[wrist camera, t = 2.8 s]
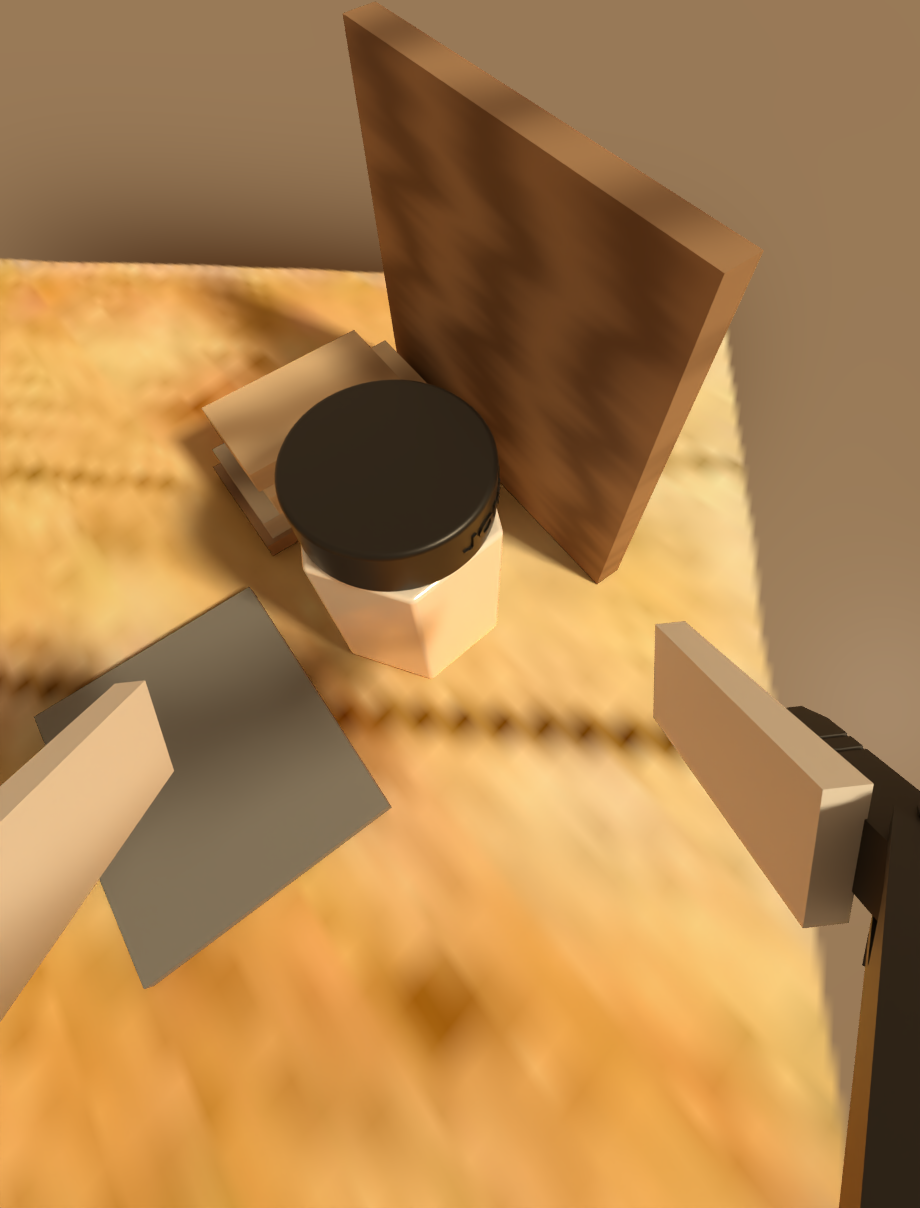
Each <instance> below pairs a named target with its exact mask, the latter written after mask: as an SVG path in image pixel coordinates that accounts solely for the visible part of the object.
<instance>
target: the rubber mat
mask: <svg viewBox="0 0 920 1208" xmlns="http://www.w3.org/2000/svg"><path fill="white" fill-rule="evenodd" d="M143 680H145V681H146V685H147V688H148V691H149V694H150V697H151V700H152V703H153V707H154V710H155V713H156V716H157V719H158V722H159V725H160V729H161V732H162V735H163V738H164V741H165V744H166V747H167V750H168V754H169V757H170V760H171V763H172V766H173V769H174V772H173V773H172V775H171V776H170V777H169V779H168V780H167V782H166V783H165V785H164V786H163V788H162V789H161V790H160V792H159V793H158V795H157V796H156V798H155V799H154V801H153V802H152V803H151V805H150V806H149V808H148V809H147V811H146V812H145V814H144V815H143V816H142V818H141V819H140V821H139V822H138V824H137V825H136V827H135V828H134V829H133V831H132V832H131V834H130V835H129V837H128V838H127V840H126V841H125V842H124V844H123V845H122V847H121V848H120V850H119V851H118V853H117V854H116V855H115V857H114V858H113V860H112V861H111V863H110V864H109V866H108V867H107V868H106V870H105V871H104V873H103V874H102V876H101V877H100V882H101V884H102V887H103V889H104V891H105V894H106V896H107V899H108V901H109V904H110V906H111V909H112V911H113V914H114V916H115V919H116V921H117V924H118V926H119V929H120V931H121V934H122V936H123V938H124V941H125V943H126V946H127V948H128V951H129V953H130V956H131V958H132V961H133V963H134V966H135V968H136V971H137V973H138V976H139V978H140V981H141V983H142V985H143V988H144V989H146V988H149V987H152V986H154V985H156V984H157V983H158V982H160V981H161V980H162V979H164V978H165V977H166V976H168V975H169V974H170V973H172V972H173V971H174V970H176V969H177V968H178V967H180V966H181V965H182V964H184V963H185V962H186V961H188V960H189V959H190V958H192V957H193V956H194V955H196V954H197V953H198V952H200V951H201V950H202V949H204V948H205V947H206V946H208V945H209V944H210V943H212V942H213V941H214V940H216V939H217V938H218V937H220V936H221V935H222V934H224V933H225V932H226V931H228V930H229V929H230V928H232V927H233V926H234V925H236V924H237V923H238V922H240V921H241V920H242V919H244V918H245V917H246V916H248V915H249V914H250V913H252V912H253V911H254V910H256V909H257V908H258V907H260V906H261V905H262V904H264V903H265V902H266V901H268V900H269V899H270V898H271V897H273V896H274V895H275V894H277V893H278V892H279V891H281V890H282V889H283V888H285V887H286V886H287V885H289V884H290V883H291V882H293V881H294V880H295V879H297V878H298V877H299V876H301V875H302V874H303V873H305V872H306V871H307V870H309V869H310V868H311V867H313V866H314V865H315V864H317V863H318V862H319V861H321V860H322V859H323V858H325V857H326V856H327V855H329V854H330V853H331V852H333V851H334V850H335V849H337V848H338V847H339V846H341V845H342V844H343V843H345V842H346V841H347V840H349V839H350V838H351V837H353V836H354V835H355V834H357V833H358V832H359V831H361V830H362V829H363V828H365V827H366V826H367V825H369V824H370V823H371V822H373V821H374V820H375V819H377V818H378V817H379V816H381V815H382V814H383V813H385V812H386V811H387V810H389V809H390V808H391V805H390V804H389V802H388V801H387V799H386V798H385V796H384V794H383V793H382V791H381V790H380V788H379V787H378V785H377V783H376V782H375V780H374V779H373V777H372V776H371V774H370V773H369V771H368V769H367V768H366V766H365V765H364V763H363V762H362V760H361V759H360V757H359V755H358V754H357V752H356V751H355V749H354V748H353V746H352V745H351V743H350V741H349V740H348V738H347V737H346V735H345V734H344V732H343V731H342V729H341V727H340V726H339V724H338V723H337V721H336V720H335V718H334V717H333V715H332V713H331V712H330V710H329V709H328V707H327V706H326V704H325V703H324V701H323V699H322V698H321V696H320V695H319V693H318V692H317V690H316V688H315V687H314V685H313V684H312V682H311V681H310V679H309V678H308V676H307V674H306V673H305V671H304V670H303V668H302V667H301V665H300V664H299V662H298V660H297V659H296V657H295V656H294V654H293V653H292V651H291V650H290V648H289V646H288V645H287V643H286V642H285V640H284V639H283V637H282V636H281V634H280V632H279V631H278V629H277V628H276V626H275V625H274V623H273V622H272V620H271V618H270V617H269V615H268V614H267V612H266V611H265V609H264V608H263V606H262V604H261V603H260V601H259V600H258V598H257V597H256V595H255V593H254V592H253V591H252V590H251V589H250V587H248V588H246V589H245V590H243V591H241V592H240V593H238V594H237V595H235V596H233V597H232V598H230V599H228V600H227V601H225V602H223V603H222V604H220V605H218V606H217V607H215V608H213V609H212V610H210V611H208V612H207V613H205V614H203V615H202V616H200V617H198V618H197V619H195V620H193V621H192V622H190V623H189V624H187V625H185V626H184V627H182V628H180V629H179V630H177V631H175V632H174V633H172V634H170V635H169V636H167V637H165V638H164V639H162V640H160V641H159V642H157V643H155V644H154V645H152V646H150V647H149V648H147V649H146V650H144V651H142V652H141V653H139V654H137V655H136V656H134V657H132V658H131V659H129V660H127V661H126V662H124V663H122V664H121V665H119V666H117V667H116V668H114V669H112V670H111V671H109V672H107V673H106V674H104V675H103V676H101V677H99V678H98V679H96V680H94V681H93V682H91V683H89V684H88V685H86V686H84V687H83V688H81V689H79V690H78V691H76V692H74V693H73V694H71V695H69V696H68V697H66V698H64V699H63V700H61V701H59V702H58V703H56V704H55V705H53V706H51V707H50V708H48V709H46V710H45V711H43V712H41V713H40V714H38V715H36V716H35V717H34V718H35V721H36V723H37V726H38V728H39V731H40V733H41V736H42V738H43V741H44V743H45V746H46V745H47V744H48V743H49V742H50V741H51V740H52V739H54V738H55V737H56V736H57V735H58V734H59V733H60V732H61V731H63V730H64V729H65V728H66V727H67V726H68V725H69V724H70V723H71V722H73V721H74V720H75V719H76V718H77V717H78V716H79V715H80V714H82V713H83V712H84V711H85V710H86V709H87V708H88V707H89V706H90V705H92V704H93V703H94V702H95V701H96V700H97V699H98V698H99V697H101V696H102V695H103V694H104V693H105V692H106V691H107V690H108V689H109V688H111V687H112V686H113V685H114V684H116V683H125V682H134V681H143Z"/></svg>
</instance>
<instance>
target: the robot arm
mask: <svg viewBox="0 0 920 1208" xmlns="http://www.w3.org/2000/svg"><path fill="white" fill-rule="evenodd" d="M653 717H654V719H655V720H656V722H657V723H658V725H659V726H660V727H661V729H662V730H663V732H664V733H665V734H666V736H667V737H668V739H669V740H670V741H671V743H672V744H673V746H674V747H675V749H676V750H677V751H678V753H679V754H680V756H681V757H682V758H683V760H684V761H685V763H686V764H687V765H688V767H689V768H690V770H691V771H692V773H693V774H694V775H695V777H696V778H697V780H698V781H699V782H700V784H701V785H702V787H703V788H704V789H705V791H706V792H707V794H708V795H709V796H710V798H711V799H712V801H713V802H714V804H715V805H716V806H717V808H718V809H719V811H720V812H721V813H722V815H723V816H724V818H725V819H726V820H727V822H728V823H729V825H730V826H731V828H732V829H733V830H734V832H735V833H736V835H737V836H738V837H739V839H740V840H741V842H742V843H743V844H744V846H745V847H746V849H747V850H748V851H749V853H750V854H751V856H752V857H753V859H754V860H755V861H756V863H757V864H758V866H759V867H760V868H761V870H762V871H763V873H764V874H765V875H766V877H767V878H768V880H769V881H770V883H771V884H772V885H773V887H774V888H775V890H776V891H777V892H778V894H779V895H780V897H781V898H782V899H783V901H784V902H785V904H786V905H787V906H788V908H789V909H790V911H791V912H792V914H793V915H794V916H795V918H796V919H797V921H798V922H799V923H800V925H801V926H802V928H809V927H817V926H825V925H834V924H843V923H849V918H850V913H851V907H852V902H853V896H854V894H855V896H856V897H857V898H858V899H859V900H860V901H861V902H862V904H863V905H864V906H865V907H866V908H867V909H868V911H869V912H870V913H871V914H872V918H871V923H870V929H869V934H868V939H867V944H866V949H865V954H864V959H863V964H862V965H863V966H865V973H864V982H863V991H862V1001H861V1010H860V1019H859V1028H858V1038H857V1047H856V1056H855V1065H854V1075H853V1083H852V1093H851V1102H850V1111H849V1120H848V1129H847V1139H846V1148H845V1157H844V1166H843V1175H842V1185H841V1194H840V1203H839V1208H920V791H919V790H918V789H916V788H915V787H914V786H913V785H911V784H910V783H909V782H908V781H906V780H905V779H904V778H903V777H901V776H900V775H899V774H898V773H896V772H895V771H894V770H893V769H891V768H890V767H889V766H888V765H886V764H885V763H884V762H883V761H881V760H880V759H879V758H877V757H876V756H875V755H874V754H872V753H871V752H870V751H869V750H867V749H863V746H862V745H861V744H860V743H859V742H857V741H856V740H855V739H854V738H852V737H851V736H847V733H846V732H845V731H843V730H842V729H841V728H840V727H838V726H837V725H836V724H835V723H833V722H832V721H831V720H830V719H828V718H827V717H824V716H822V715H820V714H818V713H816V712H813V711H811V710H809V709H807V708H805V707H802V706H798V707H789V708H785V707H784V706H783V705H781V704H780V703H779V702H778V701H777V700H776V699H775V698H773V697H772V696H771V695H770V694H769V693H768V692H766V691H765V690H764V689H763V688H762V687H761V686H759V685H758V684H757V683H756V682H755V681H754V680H752V679H751V678H750V677H749V676H748V675H747V674H746V673H744V672H743V671H742V670H741V669H740V668H739V667H737V666H736V665H735V664H734V663H733V662H732V661H730V660H729V659H728V658H727V657H726V656H725V655H723V654H722V653H721V652H720V651H719V650H718V649H716V648H715V647H714V646H713V645H712V644H711V643H709V642H708V641H707V640H706V639H705V638H704V637H703V636H701V635H700V634H699V633H698V632H697V631H696V630H694V629H693V628H692V627H691V626H690V625H689V624H687V623H686V622H685V621H682V622H672V623H663V624H655V663H654V710H653ZM173 772H174V769H173V766H172V763H171V760H170V757H169V754H168V750H167V747H166V744H165V741H164V738H163V735H162V732H161V729H160V725H159V722H158V719H157V716H156V713H155V710H154V707H153V703H152V700H151V697H150V694H149V691H148V688H147V685H146V681H145V680H143V681H134V682H125V683H116V684H114V685H113V686H112V687H111V688H109V689H108V690H107V691H106V692H105V693H104V694H103V695H102V696H101V697H99V698H98V699H97V700H96V701H95V702H94V703H93V704H92V705H90V706H89V707H88V708H87V709H86V710H85V711H84V712H83V713H82V714H80V715H79V716H78V717H77V718H76V719H75V720H74V721H73V722H71V723H70V724H69V725H68V726H67V727H66V728H65V729H64V730H63V731H61V732H60V733H59V734H58V735H57V736H56V737H55V738H54V739H52V740H51V741H50V742H49V743H48V744H47V745H46V746H45V747H44V748H42V749H41V750H40V751H39V752H38V753H37V754H36V755H35V756H33V757H32V758H31V759H30V760H29V761H28V762H27V763H26V764H25V765H23V766H22V767H21V768H20V769H19V770H18V771H17V772H16V773H14V774H13V775H12V776H11V777H10V778H9V779H8V780H7V781H6V782H4V783H3V784H2V785H1V786H0V1021H1V1020H2V1019H3V1017H4V1016H5V1014H6V1013H7V1011H8V1010H9V1008H10V1007H11V1006H12V1004H13V1003H14V1001H15V1000H16V998H17V997H18V995H19V994H20V993H21V991H22V990H23V988H24V987H25V985H26V984H27V982H28V981H29V980H30V978H31V977H32V975H33V974H34V972H35V971H36V969H37V968H38V967H39V965H40V964H41V962H42V961H43V959H44V958H45V957H46V955H47V954H48V952H49V951H50V949H51V948H52V946H53V945H54V944H55V942H56V941H57V939H58V938H59V936H60V935H61V933H62V932H63V931H64V929H65V928H66V926H67V925H68V923H69V922H70V920H71V919H72V918H73V916H74V915H75V913H76V912H77V910H78V909H79V907H80V906H81V905H82V903H83V902H84V900H85V899H86V897H87V896H88V894H89V893H90V892H91V890H92V889H93V887H94V886H95V884H96V883H97V881H98V880H99V879H100V877H101V876H102V874H103V873H104V871H105V870H106V868H107V867H108V866H109V864H110V863H111V861H112V860H113V858H114V857H115V855H116V854H117V853H118V851H119V850H120V848H121V847H122V845H123V844H124V842H125V841H126V840H127V838H128V837H129V835H130V834H131V832H132V831H133V829H134V828H135V827H136V825H137V824H138V822H139V821H140V819H141V818H142V816H143V815H144V814H145V812H146V811H147V809H148V808H149V806H150V805H151V803H152V802H153V801H154V799H155V798H156V796H157V795H158V793H159V792H160V790H161V789H162V788H163V786H164V785H165V783H166V782H167V780H168V779H169V777H170V776H171V775H172V773H173Z"/></svg>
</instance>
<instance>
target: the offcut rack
mask: <svg viewBox="0 0 920 1208" xmlns="http://www.w3.org/2000/svg"><path fill="white" fill-rule="evenodd" d="M343 19H344V24H345V31H346V38H347V44H348V50H349V56H350V63H351V69H352V75H353V81H354V87H355V94H356V100H357V106H358V112H359V118H360V125H361V131H362V138H363V144H364V150H365V156H366V162H367V169H368V175H369V181H370V188H371V194H372V200H373V206H374V213H375V219H376V225H377V231H378V238H379V244H380V250H381V256H382V263H383V269H384V275H385V281H386V288H387V294H388V300H389V306H390V313H391V319H392V325H393V331H394V338H395V344H396V350H397V352H396V351H395V350H394V349H393V348H392V347H391V346H390V345H389V344H388V343H387V342H386V341H383V342H381V343H379V344H377V345H376V346H374V347H372V348H371V347H370V346H369V345H368V344H367V343H366V342H365V341H364V340H363V339H362V338H361V337H360V336H359V335H358V334H357V333H356V332H355V330H353V331H351V332H349V333H347V334H345V335H343V336H341V337H339V338H337V339H335V340H333V341H331V342H329V343H328V344H326V345H324V346H322V347H320V348H318V349H316V350H314V351H312V352H310V353H308V354H306V355H304V356H302V357H300V358H298V359H296V360H294V361H292V362H291V363H289V364H287V365H285V366H283V367H281V368H279V369H277V370H275V371H273V372H271V373H269V374H267V375H265V376H263V377H261V378H259V379H257V380H255V381H254V382H252V383H250V384H248V385H246V386H244V387H242V388H240V389H238V390H236V391H234V392H232V393H230V394H228V395H226V396H224V397H222V398H220V399H218V400H217V401H215V402H213V403H211V404H209V405H207V406H205V407H203V408H202V409H203V411H204V413H205V414H206V416H207V418H208V419H209V421H210V423H211V424H212V426H213V428H214V429H215V430H216V432H217V433H218V435H219V436H220V437H221V439H222V440H223V442H224V443H223V444H222V445H220V446H218V447H216V448H214V449H212V450H213V452H214V453H215V455H216V456H217V458H218V460H219V461H220V464H218V465H216V466H214V467H213V468H214V469H215V471H216V472H217V474H218V475H219V477H220V478H221V480H222V481H223V483H224V484H225V486H226V487H227V489H228V490H229V491H230V493H231V494H232V496H233V497H234V499H235V500H236V502H237V503H238V505H239V506H240V508H241V509H242V511H243V512H244V514H245V515H246V516H247V518H248V519H249V521H250V522H251V524H252V525H253V527H254V528H255V530H256V531H257V533H258V534H259V536H260V537H261V538H262V540H263V541H264V543H265V544H266V546H267V547H268V549H269V550H270V552H271V553H272V555H273V556H274V555H275V554H277V553H279V552H281V551H282V550H284V549H286V548H287V547H289V546H291V545H292V544H294V543H296V542H297V541H298V539H297V537H296V535H295V533H294V532H293V530H292V528H291V526H290V524H289V523H288V521H287V519H286V517H285V515H284V513H283V512H282V510H281V507H280V505H279V502H278V499H277V495H276V490H275V482H274V473H275V464H276V460H277V456H278V453H279V450H280V448H281V445H282V443H283V441H284V439H285V437H286V436H287V434H288V433H289V431H290V430H291V428H292V427H293V426H294V424H295V423H296V422H297V421H298V420H299V419H300V418H301V416H302V415H304V414H305V413H306V412H307V411H308V410H309V409H310V408H312V407H313V406H314V405H316V404H317V403H318V402H320V401H322V400H323V399H325V398H326V397H328V396H330V395H332V394H334V393H336V392H338V391H340V390H343V389H345V388H348V387H351V386H354V385H358V384H361V383H366V382H371V381H378V380H390V379H401V380H413V381H419V382H424V383H428V384H431V385H434V386H437V387H440V388H443V389H445V390H447V391H449V392H451V393H453V394H455V395H457V396H458V397H460V398H461V399H463V400H464V401H466V402H467V403H468V404H469V405H471V406H472V407H473V408H474V409H475V410H476V411H477V412H478V413H479V414H480V415H481V417H482V418H483V419H484V420H485V422H486V424H487V425H488V427H489V429H490V431H491V433H492V435H493V437H494V440H495V443H496V447H497V451H498V459H499V467H500V476H499V477H500V483H501V484H502V485H503V486H504V487H505V488H506V489H507V490H508V491H509V492H510V493H511V494H512V495H513V496H514V497H515V499H516V500H517V501H518V502H519V503H520V504H521V505H522V506H523V507H524V508H525V509H526V510H527V511H528V512H529V513H530V514H531V515H532V516H533V517H534V519H535V520H536V521H537V522H538V523H539V524H540V525H541V526H542V527H543V528H544V529H545V530H546V531H547V532H548V533H549V534H550V535H551V536H552V537H553V539H554V540H555V541H556V542H557V543H558V544H559V545H560V546H561V547H562V548H563V549H564V550H565V551H566V552H567V553H568V554H569V555H570V556H571V557H572V558H573V560H574V561H575V562H576V563H577V564H578V565H579V566H580V567H581V568H582V569H583V570H584V571H585V572H586V573H587V574H588V575H589V576H590V577H591V578H592V580H593V581H594V582H595V583H596V584H598V583H599V582H601V581H602V580H603V579H605V578H606V577H608V576H609V575H610V574H612V573H613V572H615V571H616V570H617V569H618V567H619V565H620V563H621V560H622V558H623V556H624V554H625V552H626V549H627V547H628V545H629V543H630V541H631V539H632V536H633V534H634V532H635V530H636V528H637V526H638V523H639V521H640V519H641V517H642V515H643V512H644V510H645V508H646V506H647V504H648V502H649V499H650V497H651V495H652V493H653V491H654V488H655V486H656V484H657V482H658V480H659V478H660V475H661V473H662V471H663V469H664V467H665V464H666V462H667V460H668V458H669V456H670V454H671V451H672V449H673V447H674V445H675V443H676V441H677V438H678V436H679V434H680V432H681V430H682V427H683V425H684V423H685V421H686V419H687V417H688V414H689V412H690V410H691V408H692V406H693V403H694V401H695V399H696V397H697V395H698V393H699V390H700V388H701V386H702V384H703V382H704V379H705V377H706V375H707V373H708V371H709V369H710V366H711V364H712V362H713V360H714V358H715V356H716V353H717V351H718V349H719V347H720V345H721V342H722V340H723V338H724V336H725V334H726V332H727V329H728V327H729V325H730V323H731V320H732V318H733V316H734V314H735V312H736V310H737V307H738V305H739V303H740V301H741V299H742V297H743V294H744V292H745V290H746V288H747V286H748V284H749V281H750V279H751V277H752V275H753V273H754V270H755V268H756V266H757V264H758V262H759V260H760V257H761V255H762V253H763V250H762V249H761V248H759V247H758V246H756V245H754V244H753V243H751V242H750V241H748V240H747V239H745V238H744V237H742V236H740V235H739V234H737V233H736V232H734V231H733V230H731V229H729V228H728V227H726V226H725V225H723V224H722V223H720V222H719V221H717V220H715V219H714V218H712V217H711V216H709V215H708V214H706V213H705V212H703V211H702V210H700V209H698V208H697V207H695V206H693V205H692V204H691V203H689V202H687V201H686V200H684V199H683V198H681V197H680V196H678V195H676V194H675V193H673V192H672V191H670V190H669V189H667V188H666V187H664V186H662V185H661V184H659V183H658V182H656V181H655V180H653V179H651V178H650V177H648V176H647V175H645V174H644V173H642V172H641V171H639V170H638V169H636V168H634V167H633V166H631V165H630V164H628V163H626V162H625V161H623V160H622V159H620V158H619V157H617V156H616V155H614V154H613V153H611V152H609V151H608V150H606V149H605V148H603V147H601V146H600V145H598V144H597V143H595V142H594V141H592V140H591V139H589V138H588V137H586V136H584V135H583V134H581V133H580V132H578V131H577V130H575V129H574V128H572V127H570V126H569V125H567V124H566V123H564V122H563V121H561V120H559V119H558V118H556V117H555V116H553V115H551V114H550V113H549V112H547V111H545V110H544V109H542V108H541V107H539V106H538V105H536V104H534V103H533V102H531V101H530V100H528V99H527V98H525V97H523V96H522V95H520V94H519V93H517V92H516V91H514V90H513V89H511V88H509V87H508V86H506V85H505V84H503V83H502V82H500V81H499V80H497V79H495V78H494V77H492V76H491V75H489V74H488V73H486V72H485V71H483V70H481V69H480V68H478V67H477V66H475V65H474V64H472V63H471V62H469V61H467V60H466V59H464V58H463V57H461V56H459V55H458V54H456V53H455V52H453V51H452V50H450V49H449V48H447V47H445V46H444V45H442V44H440V43H439V42H438V41H436V40H435V39H433V38H431V37H430V36H428V35H427V34H425V33H424V32H422V31H421V30H419V29H417V28H416V27H414V26H412V25H411V24H410V23H408V22H406V21H405V20H403V19H402V18H400V17H399V16H397V15H395V14H394V13H392V12H391V11H389V10H388V9H386V8H385V7H383V6H381V5H380V4H378V3H377V2H372V3H370V4H367V5H364V6H362V7H359V8H356V9H353V10H350V11H348V12H345V13H343Z"/></svg>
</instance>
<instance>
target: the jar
mask: <svg viewBox="0 0 920 1208" xmlns="http://www.w3.org/2000/svg"><path fill="white" fill-rule="evenodd" d="M499 476H500V467H499V459H498V451H497V447H496V443H495V440H494V437H493V435H492V433H491V431H490V429H489V427H488V425H487V424H486V422H485V420H484V419H483V418H482V417H481V415H480V414H479V413H478V412H477V411H476V410H475V409H474V408H473V407H472V406H471V405H469V404H468V403H467V402H466V401H464V400H463V399H461V398H460V397H458V396H457V395H455V394H453V393H451V392H449V391H447V390H445V389H443V388H440V387H437V386H434V385H431V384H428V383H424V382H419V381H413V380H401V379H390V380H378V381H371V382H366V383H361V384H358V385H354V386H351V387H348V388H345V389H343V390H340V391H338V392H336V393H334V394H332V395H330V396H328V397H326V398H325V399H323V400H322V401H320V402H318V403H317V404H316V405H314V406H313V407H312V408H310V409H309V410H308V411H307V412H306V413H305V414H304V415H302V416H301V418H300V419H299V420H298V421H297V422H296V423H295V424H294V426H293V427H292V428H291V430H290V431H289V433H288V434H287V436H286V437H285V439H284V441H283V443H282V445H281V448H280V450H279V453H278V456H277V460H276V464H275V473H274V482H275V490H276V495H277V499H278V502H279V505H280V507H281V510H282V512H283V513H284V515H285V517H286V519H287V521H288V523H289V524H290V526H291V528H292V530H293V532H294V533H295V535H296V537H297V539H298V541H299V542H300V544H301V555H302V567H303V570H304V572H305V574H306V576H307V577H308V579H309V581H310V582H311V584H312V586H313V587H314V589H315V591H316V592H317V594H318V596H319V598H320V599H321V601H322V603H323V604H324V606H325V608H326V609H327V611H328V613H329V615H330V616H331V618H332V620H333V621H334V623H335V625H336V626H337V628H338V630H339V631H340V633H341V635H342V637H343V638H344V640H345V642H346V643H347V645H348V647H349V648H350V650H351V652H352V653H354V654H356V655H359V656H362V657H365V658H368V659H372V660H375V661H378V662H381V663H384V664H387V665H390V666H393V667H396V668H399V669H402V670H405V671H408V672H411V673H414V674H417V675H421V676H424V677H427V678H434V677H435V676H437V675H438V674H439V673H440V672H441V671H443V670H444V669H445V668H446V667H447V666H449V665H450V664H451V663H452V662H453V661H455V660H456V659H457V658H458V657H459V656H461V655H462V654H463V653H464V652H465V651H467V650H468V649H469V648H470V647H472V646H473V645H474V644H475V643H476V642H478V641H479V640H480V639H481V638H482V637H484V636H485V635H486V634H487V633H488V632H490V631H491V630H492V629H493V628H494V627H495V626H496V625H497V615H498V601H499V587H500V572H501V558H502V543H503V530H502V526H501V522H500V518H499V515H498V511H497V503H498V502H499V494H500V477H499Z"/></svg>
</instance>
